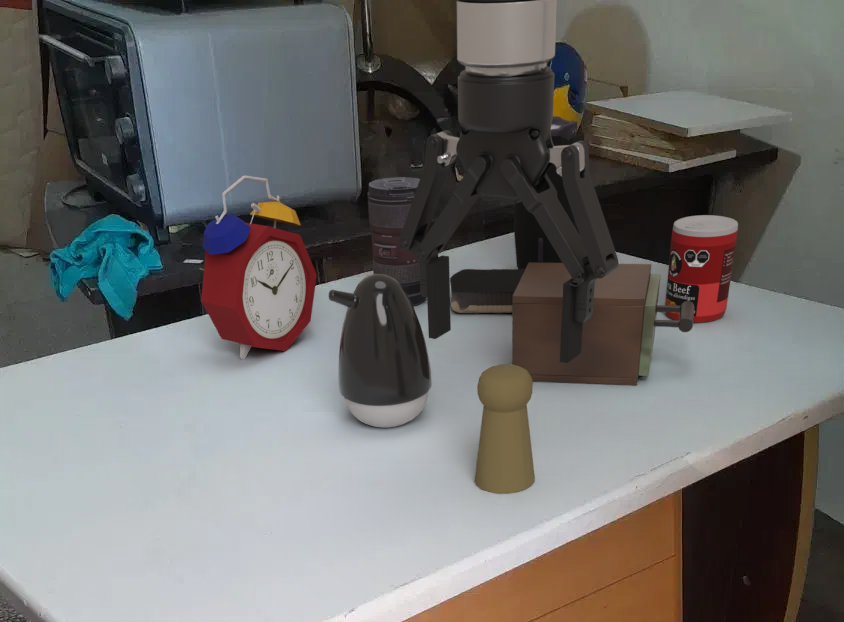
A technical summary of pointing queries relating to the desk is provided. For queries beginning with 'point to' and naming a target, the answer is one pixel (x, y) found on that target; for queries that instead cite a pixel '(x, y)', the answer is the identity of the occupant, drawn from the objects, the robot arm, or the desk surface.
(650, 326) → the drawer
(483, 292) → the scrub brush
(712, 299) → the canned food
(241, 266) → the alarm clock
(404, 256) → the camera lens
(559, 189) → the portable speaker
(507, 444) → the tan game pawn
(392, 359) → the pump dispenser
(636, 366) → the cabinet
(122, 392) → the desk surface
